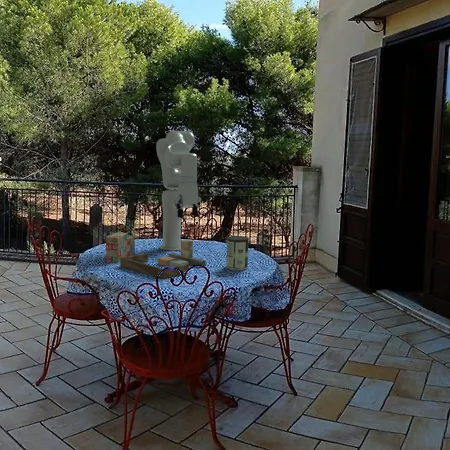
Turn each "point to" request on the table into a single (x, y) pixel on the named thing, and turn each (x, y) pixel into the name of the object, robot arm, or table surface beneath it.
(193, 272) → the table surface
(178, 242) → the robot arm
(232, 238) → the coffee can
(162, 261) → the tile terracotta
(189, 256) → the scraper
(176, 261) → the tile sage
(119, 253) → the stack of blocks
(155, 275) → the box
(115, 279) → the table surface
